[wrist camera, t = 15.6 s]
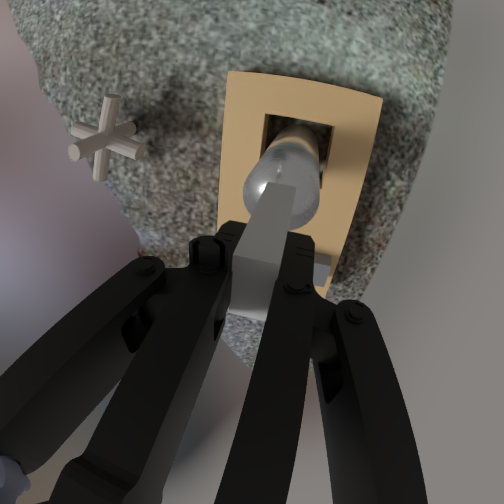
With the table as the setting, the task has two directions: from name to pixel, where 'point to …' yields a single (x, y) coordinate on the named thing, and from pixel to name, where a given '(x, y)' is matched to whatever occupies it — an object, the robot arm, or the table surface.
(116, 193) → the table surface
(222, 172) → the jig
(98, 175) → the pipe connector
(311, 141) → the grey metal cylinder
